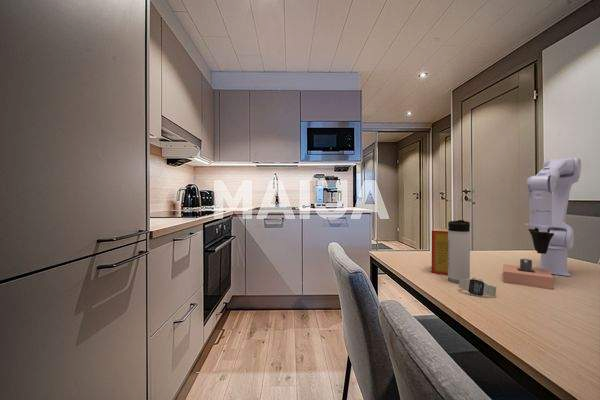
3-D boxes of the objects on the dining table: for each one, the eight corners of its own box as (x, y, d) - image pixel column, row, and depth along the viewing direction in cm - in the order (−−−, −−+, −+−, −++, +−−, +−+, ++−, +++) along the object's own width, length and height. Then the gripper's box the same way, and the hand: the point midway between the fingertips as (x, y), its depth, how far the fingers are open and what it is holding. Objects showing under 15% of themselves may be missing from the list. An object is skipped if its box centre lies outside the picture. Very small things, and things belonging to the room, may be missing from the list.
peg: (519, 279, 93) (519, 258, 93) (531, 280, 91) (531, 259, 91) (520, 281, 90) (520, 260, 90) (532, 282, 89) (532, 261, 89)
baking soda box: (451, 275, 97) (452, 230, 96) (431, 272, 100) (431, 229, 100) (454, 270, 104) (455, 228, 104) (436, 267, 108) (436, 227, 108)
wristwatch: (457, 293, 79) (457, 276, 79) (460, 287, 85) (460, 271, 85) (496, 300, 74) (496, 282, 74) (496, 293, 79) (496, 276, 79)
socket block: (503, 273, 99) (503, 264, 99) (547, 279, 92) (547, 269, 92) (503, 282, 89) (503, 271, 89) (553, 289, 82) (553, 277, 82)
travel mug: (471, 280, 91) (472, 220, 91) (467, 285, 86) (467, 221, 86) (451, 276, 95) (451, 219, 95) (445, 281, 91) (445, 220, 90)
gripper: (523, 210, 100) (523, 247, 101) (526, 211, 89) (526, 253, 89) (549, 210, 96) (549, 249, 96) (556, 212, 85) (556, 256, 85)
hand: (540, 251), depth 92 cm, fingers open, 7 cm apart
